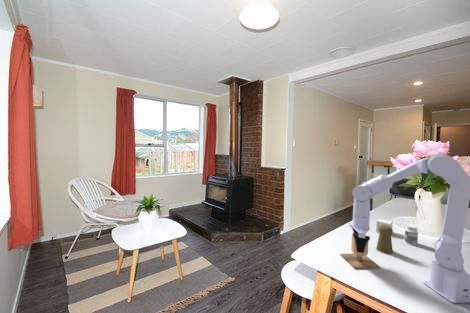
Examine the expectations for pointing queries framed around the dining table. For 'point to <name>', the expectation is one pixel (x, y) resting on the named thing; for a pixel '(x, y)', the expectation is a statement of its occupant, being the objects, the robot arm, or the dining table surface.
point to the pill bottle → (411, 234)
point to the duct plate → (359, 261)
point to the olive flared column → (385, 239)
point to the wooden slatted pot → (354, 250)
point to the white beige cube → (383, 223)
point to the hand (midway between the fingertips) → (359, 248)
